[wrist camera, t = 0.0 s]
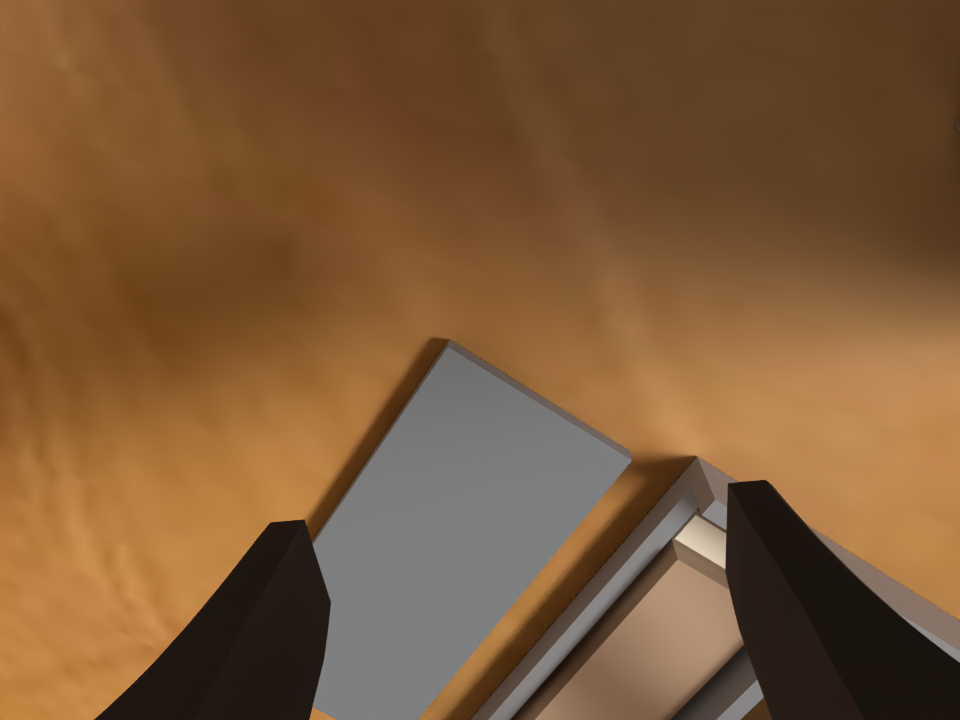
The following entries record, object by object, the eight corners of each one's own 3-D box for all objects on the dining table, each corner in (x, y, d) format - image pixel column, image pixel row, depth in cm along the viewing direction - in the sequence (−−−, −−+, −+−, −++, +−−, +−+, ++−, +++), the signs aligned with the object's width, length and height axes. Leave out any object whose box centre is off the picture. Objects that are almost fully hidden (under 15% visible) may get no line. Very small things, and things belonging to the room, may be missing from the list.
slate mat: (396, 734, 30) (393, 748, 29) (236, 652, 29) (230, 665, 28) (629, 451, 25) (632, 460, 25) (449, 339, 24) (447, 347, 23)
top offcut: (549, 812, 30) (550, 842, 29) (466, 769, 30) (464, 798, 29) (762, 590, 26) (772, 615, 25) (671, 536, 26) (677, 559, 25)
